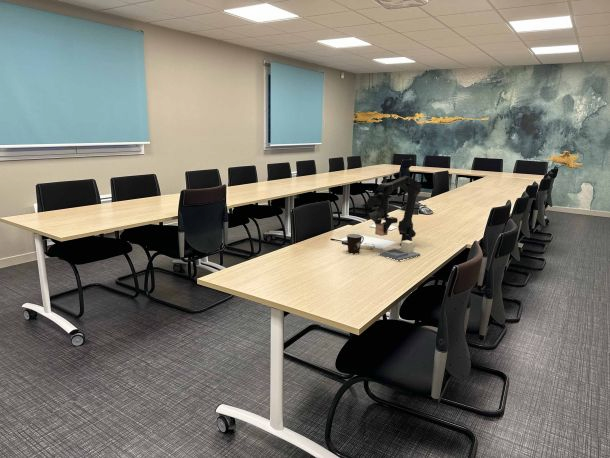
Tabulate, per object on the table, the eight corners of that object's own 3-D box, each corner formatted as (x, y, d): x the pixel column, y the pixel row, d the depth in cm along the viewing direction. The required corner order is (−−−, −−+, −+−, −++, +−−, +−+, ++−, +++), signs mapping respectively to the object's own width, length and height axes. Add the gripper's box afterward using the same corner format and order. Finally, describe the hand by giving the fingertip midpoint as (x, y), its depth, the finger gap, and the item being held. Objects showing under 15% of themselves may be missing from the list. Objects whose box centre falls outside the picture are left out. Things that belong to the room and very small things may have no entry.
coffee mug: (349, 254, 240) (350, 237, 238) (344, 250, 248) (344, 234, 246) (368, 253, 243) (369, 236, 241) (362, 249, 251) (363, 233, 249)
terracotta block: (381, 233, 251) (381, 223, 249) (387, 234, 247) (388, 224, 246) (375, 234, 248) (375, 224, 247) (381, 235, 244) (382, 225, 243)
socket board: (400, 250, 251) (401, 238, 249) (420, 256, 240) (421, 243, 238) (379, 255, 240) (380, 242, 238) (398, 261, 229) (399, 248, 228)
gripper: (361, 204, 246) (360, 230, 250) (385, 210, 232) (383, 237, 235) (375, 203, 253) (373, 228, 256) (399, 208, 238) (397, 235, 242)
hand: (381, 232), depth 247 cm, fingers closed on terracotta block, 5 cm apart
